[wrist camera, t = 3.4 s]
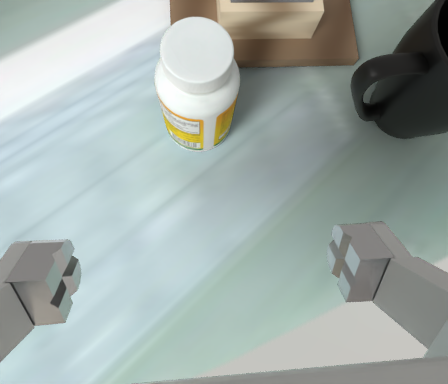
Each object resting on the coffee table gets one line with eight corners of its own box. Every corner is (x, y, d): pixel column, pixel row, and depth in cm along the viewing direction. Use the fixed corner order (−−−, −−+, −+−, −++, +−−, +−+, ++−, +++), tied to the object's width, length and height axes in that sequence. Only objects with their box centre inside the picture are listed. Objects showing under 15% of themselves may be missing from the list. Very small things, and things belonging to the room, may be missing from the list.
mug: (302, 81, 28) (352, -7, 18) (427, 60, 29) (534, -33, 19) (327, 170, 26) (396, 123, 17) (458, 144, 27) (590, 87, 18)
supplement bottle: (176, 160, 25) (159, 105, 16) (159, 101, 26) (134, 16, 17) (239, 143, 26) (259, 80, 17) (220, 86, 27) (229, -4, 18)
